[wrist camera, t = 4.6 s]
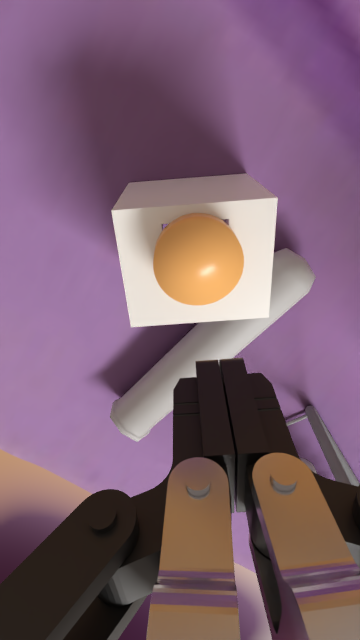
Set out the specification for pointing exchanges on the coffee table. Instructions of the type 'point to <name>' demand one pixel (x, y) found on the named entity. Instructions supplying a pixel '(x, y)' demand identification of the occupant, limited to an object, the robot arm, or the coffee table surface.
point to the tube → (207, 349)
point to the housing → (181, 199)
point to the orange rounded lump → (198, 259)
